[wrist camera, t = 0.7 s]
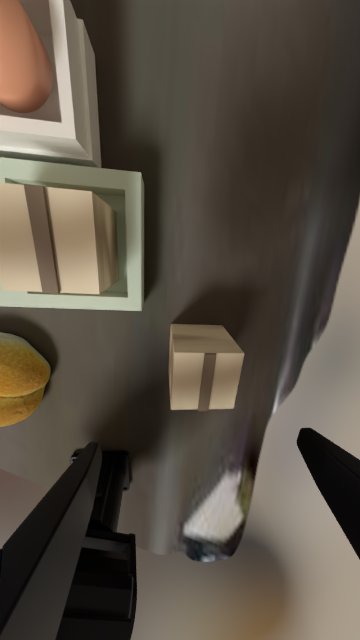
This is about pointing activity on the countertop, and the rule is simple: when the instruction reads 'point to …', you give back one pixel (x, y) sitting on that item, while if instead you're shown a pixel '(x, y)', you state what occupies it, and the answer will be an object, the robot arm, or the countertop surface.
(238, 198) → the countertop surface
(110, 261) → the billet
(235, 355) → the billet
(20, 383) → the bread roll
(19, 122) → the button housing
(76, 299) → the pale green divided tray
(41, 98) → the button
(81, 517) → the robot arm
